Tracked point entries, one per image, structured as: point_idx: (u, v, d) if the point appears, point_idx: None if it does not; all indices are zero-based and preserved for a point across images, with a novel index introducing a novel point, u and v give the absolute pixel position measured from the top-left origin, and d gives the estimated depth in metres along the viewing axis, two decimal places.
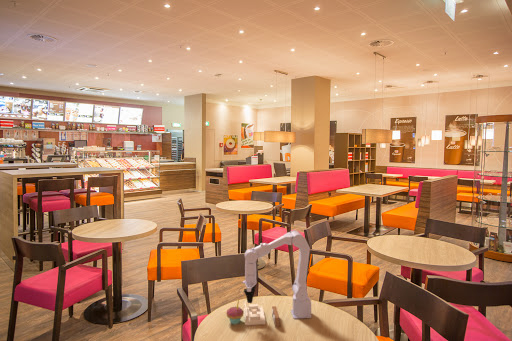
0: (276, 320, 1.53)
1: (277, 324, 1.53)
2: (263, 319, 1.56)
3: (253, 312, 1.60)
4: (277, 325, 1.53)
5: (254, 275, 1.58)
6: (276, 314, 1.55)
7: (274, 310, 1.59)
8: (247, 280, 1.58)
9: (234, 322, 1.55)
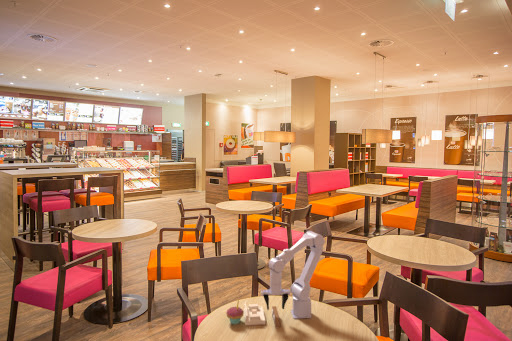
0: (276, 320, 1.53)
1: (277, 324, 1.53)
2: (263, 319, 1.56)
3: (253, 312, 1.60)
4: (277, 325, 1.53)
5: (272, 285, 1.55)
6: (276, 314, 1.55)
7: (274, 310, 1.59)
8: None
9: (234, 322, 1.55)
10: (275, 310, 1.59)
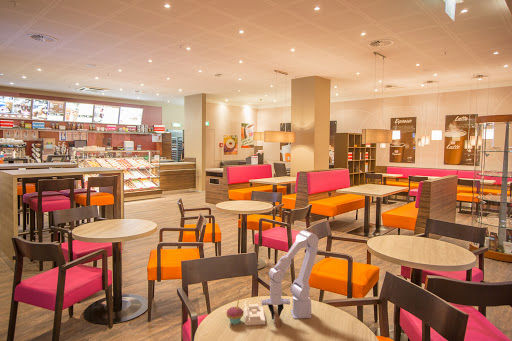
0: (276, 320, 1.53)
1: (277, 324, 1.53)
2: (263, 319, 1.56)
3: (253, 312, 1.60)
4: (277, 325, 1.53)
5: (272, 294, 1.55)
6: (276, 314, 1.55)
7: (274, 310, 1.59)
8: None
9: (234, 322, 1.55)
10: (275, 310, 1.59)
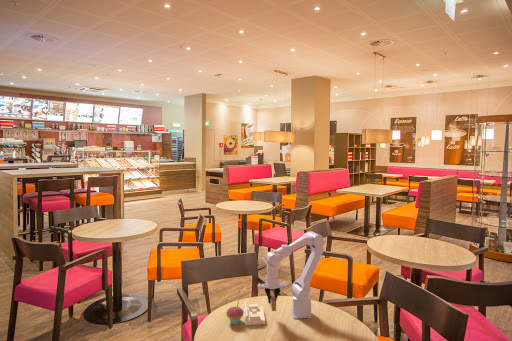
0: (273, 304, 1.52)
1: (274, 308, 1.53)
2: (263, 319, 1.56)
3: (253, 312, 1.60)
4: (274, 309, 1.53)
5: (269, 278, 1.55)
6: (273, 298, 1.55)
7: (271, 294, 1.59)
8: None
9: (234, 322, 1.55)
10: (272, 294, 1.59)
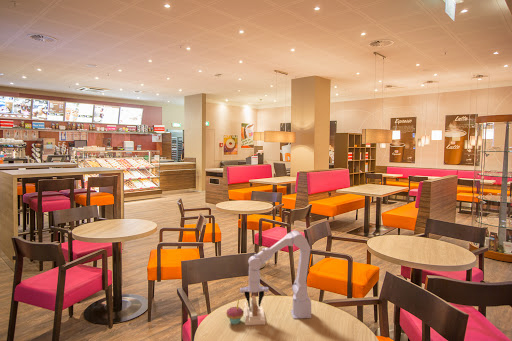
0: (254, 309, 1.55)
1: (255, 312, 1.55)
2: (263, 319, 1.56)
3: None
4: (255, 313, 1.55)
5: (251, 282, 1.58)
6: (254, 303, 1.58)
7: (253, 299, 1.62)
8: None
9: (234, 322, 1.55)
10: (254, 299, 1.62)
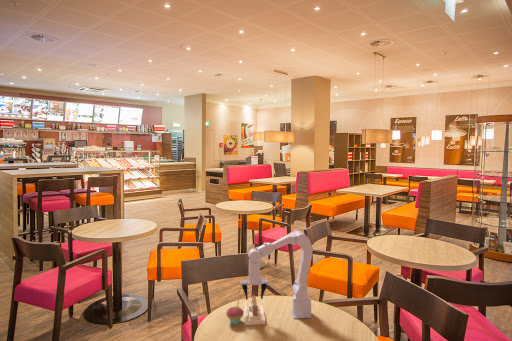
0: (254, 309, 1.55)
1: (255, 312, 1.55)
2: (263, 319, 1.56)
3: None
4: (255, 313, 1.55)
5: (251, 275, 1.57)
6: (254, 303, 1.58)
7: (253, 299, 1.62)
8: None
9: (234, 322, 1.55)
10: (254, 299, 1.62)
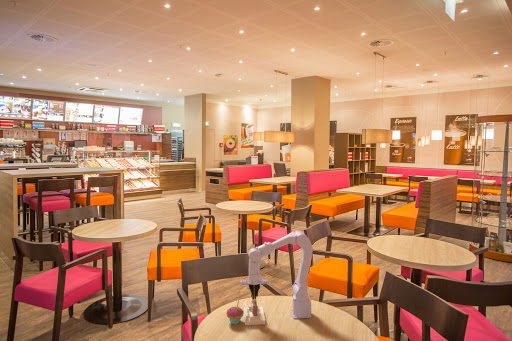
0: (254, 309, 1.55)
1: (255, 312, 1.55)
2: (263, 319, 1.56)
3: None
4: (255, 313, 1.55)
5: (251, 274, 1.57)
6: (254, 303, 1.58)
7: (253, 299, 1.62)
8: None
9: (234, 322, 1.55)
10: (254, 299, 1.62)
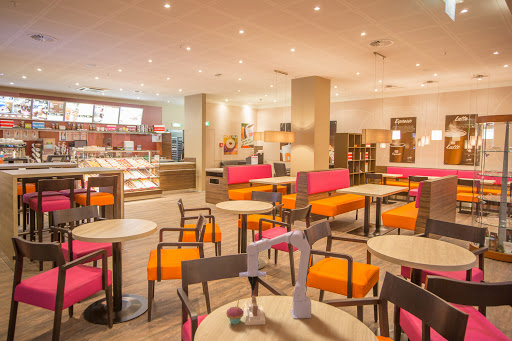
0: (254, 309, 1.55)
1: (255, 312, 1.55)
2: (263, 319, 1.56)
3: None
4: (255, 313, 1.55)
5: (249, 267, 1.67)
6: (254, 303, 1.58)
7: (253, 299, 1.62)
8: None
9: (234, 322, 1.55)
10: (254, 299, 1.62)
